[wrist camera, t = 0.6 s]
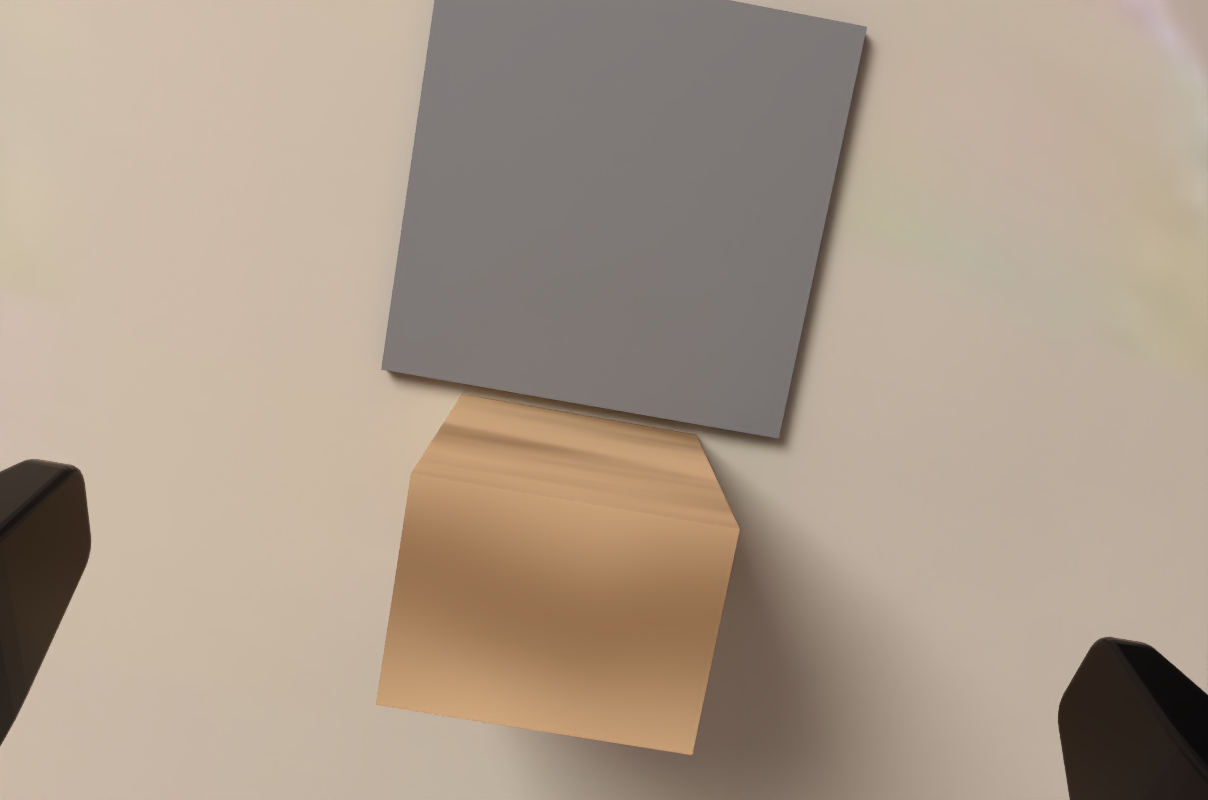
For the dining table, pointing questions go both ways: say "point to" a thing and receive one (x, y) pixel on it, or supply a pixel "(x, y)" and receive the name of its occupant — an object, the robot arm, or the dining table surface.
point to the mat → (621, 202)
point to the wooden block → (560, 577)
